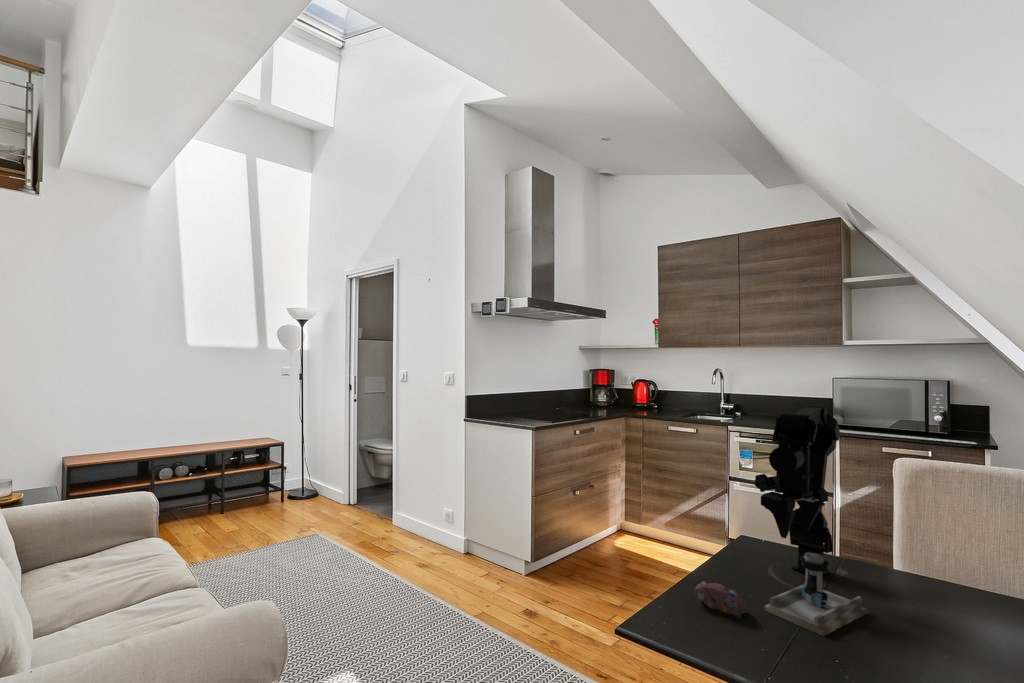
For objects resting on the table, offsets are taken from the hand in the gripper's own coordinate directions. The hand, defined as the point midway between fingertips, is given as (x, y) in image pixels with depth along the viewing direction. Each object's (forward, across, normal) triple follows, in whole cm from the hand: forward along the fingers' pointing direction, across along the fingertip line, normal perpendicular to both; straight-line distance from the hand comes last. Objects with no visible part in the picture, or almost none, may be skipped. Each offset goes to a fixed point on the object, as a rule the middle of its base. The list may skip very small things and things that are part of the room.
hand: (794, 534), depth 122 cm
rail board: (+13, +6, +8) cm, 16 cm away
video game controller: (+13, +23, -3) cm, 27 cm away
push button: (+12, +6, +8) cm, 15 cm away
